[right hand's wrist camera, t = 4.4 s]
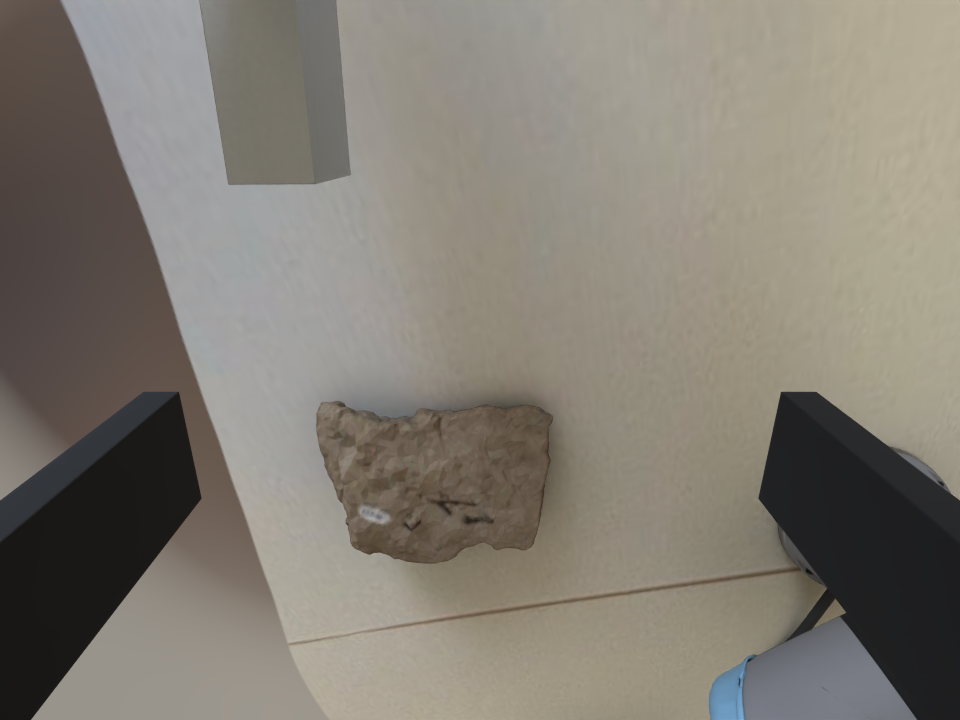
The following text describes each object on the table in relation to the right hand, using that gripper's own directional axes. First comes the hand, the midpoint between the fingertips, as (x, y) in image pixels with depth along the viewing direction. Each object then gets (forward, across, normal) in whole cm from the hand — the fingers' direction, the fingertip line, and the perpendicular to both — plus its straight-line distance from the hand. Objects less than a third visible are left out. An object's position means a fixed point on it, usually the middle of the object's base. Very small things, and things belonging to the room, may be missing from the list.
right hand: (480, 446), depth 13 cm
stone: (+36, +4, +22) cm, 43 cm away
